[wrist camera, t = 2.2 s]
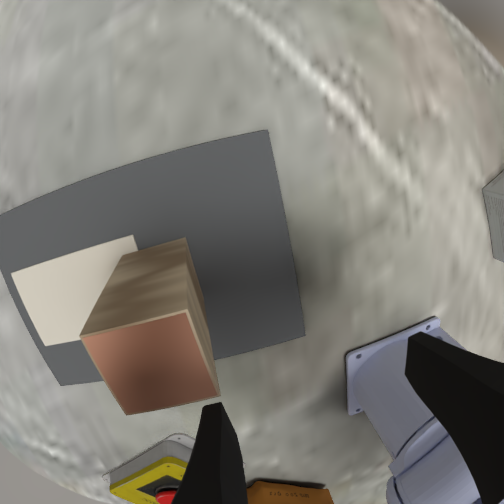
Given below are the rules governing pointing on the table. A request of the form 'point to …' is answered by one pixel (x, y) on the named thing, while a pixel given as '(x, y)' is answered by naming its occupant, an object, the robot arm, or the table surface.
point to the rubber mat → (155, 233)
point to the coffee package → (286, 494)
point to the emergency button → (153, 472)
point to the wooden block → (153, 331)
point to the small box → (496, 214)
